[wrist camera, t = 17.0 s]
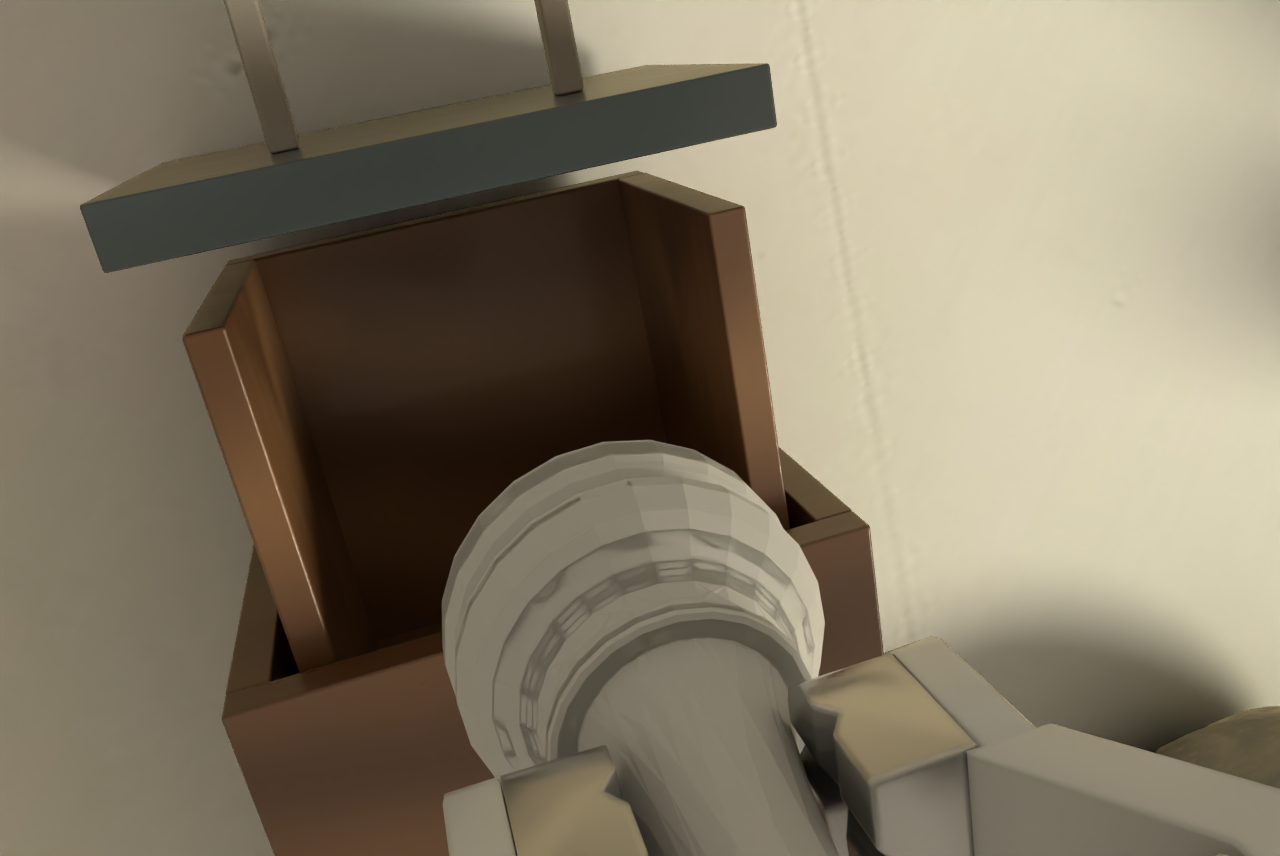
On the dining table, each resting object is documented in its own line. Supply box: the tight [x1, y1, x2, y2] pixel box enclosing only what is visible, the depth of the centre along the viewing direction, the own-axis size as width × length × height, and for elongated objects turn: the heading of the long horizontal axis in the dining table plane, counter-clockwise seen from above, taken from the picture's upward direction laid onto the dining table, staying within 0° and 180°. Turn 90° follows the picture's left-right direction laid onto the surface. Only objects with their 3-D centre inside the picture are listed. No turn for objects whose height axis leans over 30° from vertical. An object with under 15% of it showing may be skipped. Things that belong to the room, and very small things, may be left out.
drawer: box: [80, 0, 790, 673], centre depth 25 cm, size 20×13×9 cm, turn 10°
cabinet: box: [222, 447, 884, 856], centre depth 29 cm, size 16×14×11 cm
